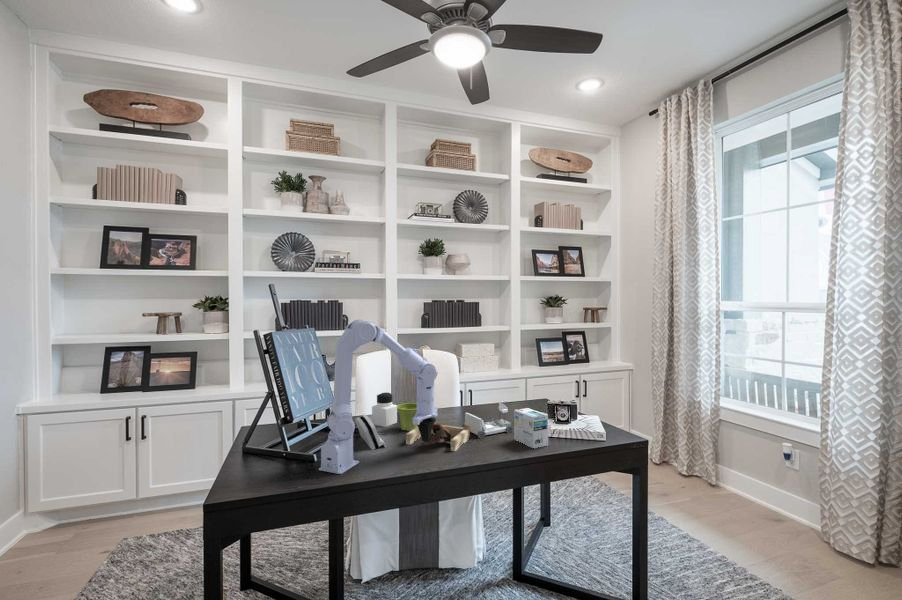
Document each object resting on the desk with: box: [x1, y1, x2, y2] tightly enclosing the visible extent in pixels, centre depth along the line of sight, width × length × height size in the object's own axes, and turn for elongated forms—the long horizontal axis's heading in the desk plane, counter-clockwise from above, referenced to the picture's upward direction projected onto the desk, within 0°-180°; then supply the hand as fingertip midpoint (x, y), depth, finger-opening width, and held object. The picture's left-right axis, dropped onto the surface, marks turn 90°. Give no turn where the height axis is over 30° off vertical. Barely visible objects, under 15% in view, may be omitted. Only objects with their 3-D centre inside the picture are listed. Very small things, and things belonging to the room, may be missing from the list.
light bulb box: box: [513, 407, 549, 449], centre depth 155 cm, size 11×7×11 cm, turn 31°
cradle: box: [405, 424, 471, 452], centre depth 156 cm, size 14×18×5 cm
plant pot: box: [397, 402, 418, 432], centre depth 170 cm, size 9×9×9 cm
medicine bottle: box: [371, 391, 398, 428], centre depth 177 cm, size 7×7×12 cm
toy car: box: [461, 401, 514, 439], centre depth 168 cm, size 18×10×12 cm
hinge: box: [354, 414, 387, 450], centre depth 156 cm, size 17×5×10 cm, turn 25°
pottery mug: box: [423, 422, 453, 447], centre depth 153 cm, size 12×10×8 cm
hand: (425, 440), depth 146 cm, fingers closed
